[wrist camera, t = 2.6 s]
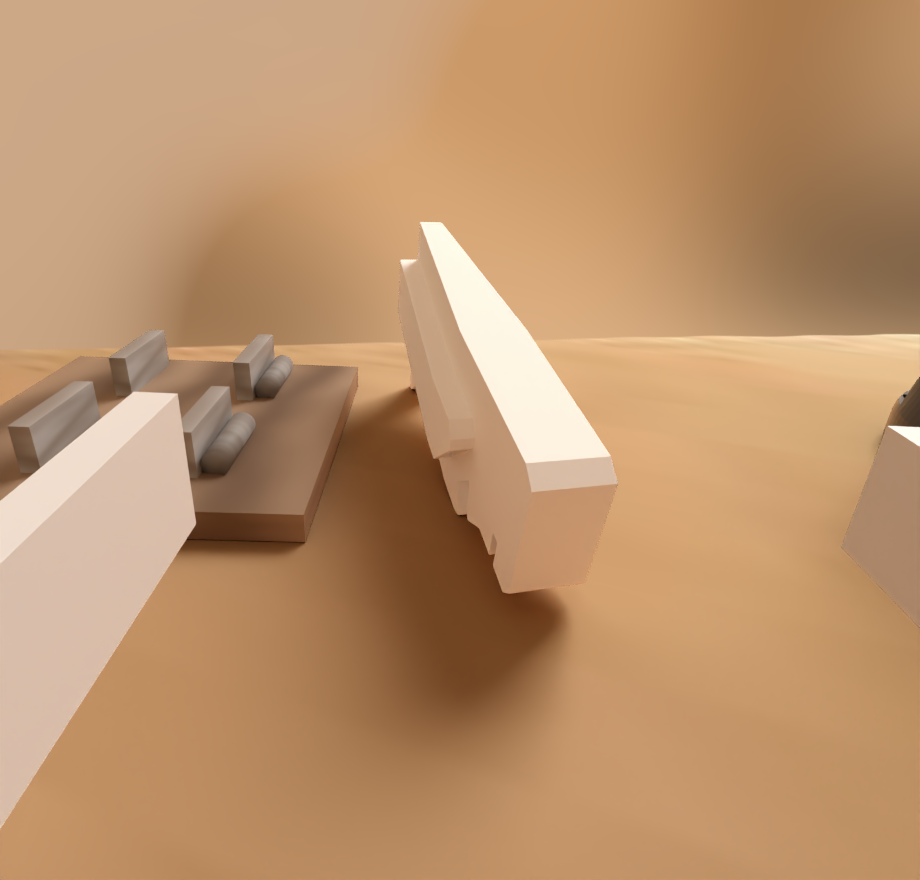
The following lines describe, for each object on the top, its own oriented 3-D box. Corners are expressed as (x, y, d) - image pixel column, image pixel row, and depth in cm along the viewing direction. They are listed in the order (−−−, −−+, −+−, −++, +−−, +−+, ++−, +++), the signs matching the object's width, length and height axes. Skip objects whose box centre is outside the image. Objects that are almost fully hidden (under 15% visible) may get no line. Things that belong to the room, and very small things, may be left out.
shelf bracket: (453, 385, 49) (471, 222, 41) (575, 672, 30) (650, 470, 22) (383, 388, 47) (388, 221, 40) (463, 691, 29) (502, 483, 21)
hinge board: (357, 386, 47) (356, 334, 46) (305, 542, 29) (300, 466, 28) (84, 375, 46) (72, 322, 45) (-142, 530, 29) (-177, 451, 27)
